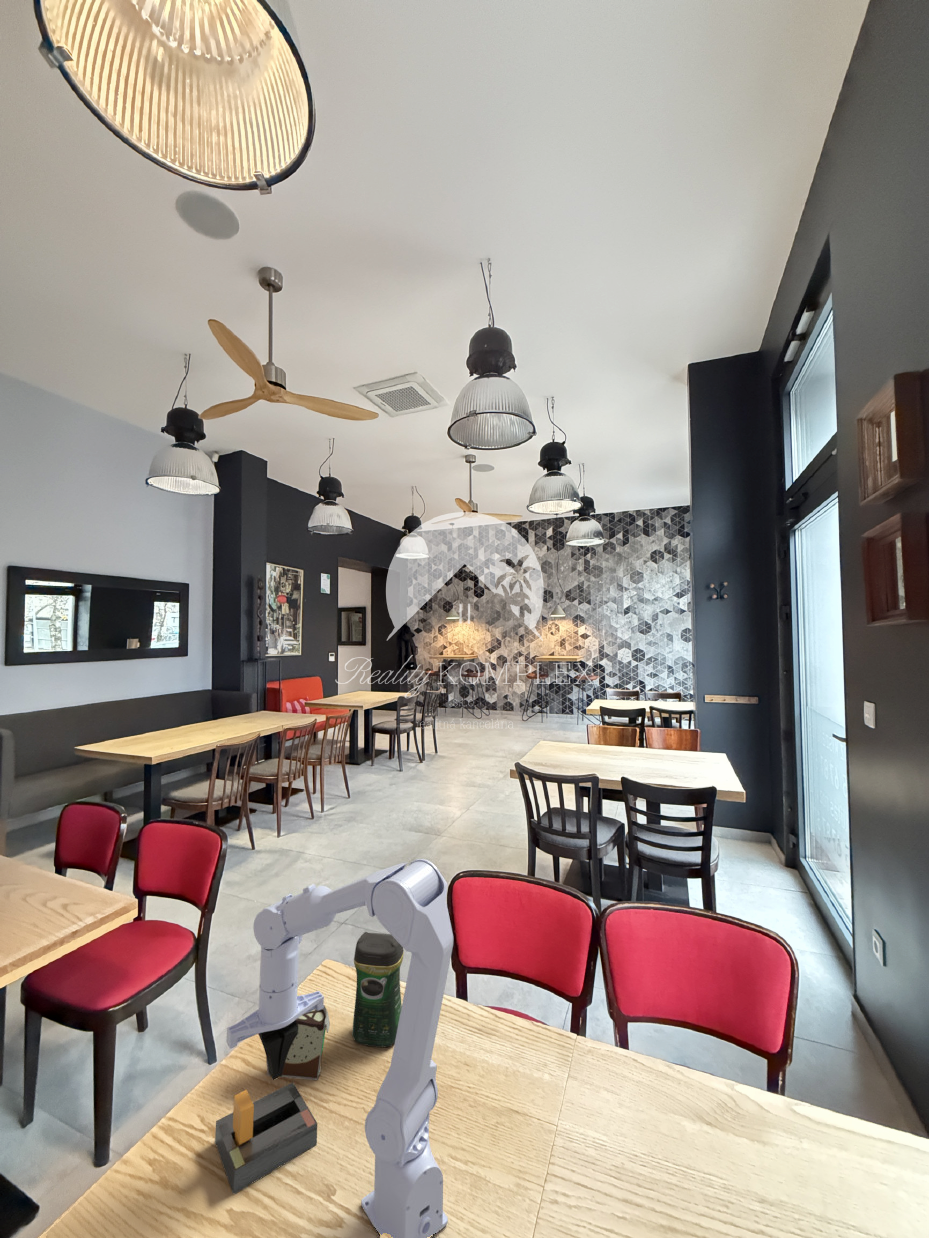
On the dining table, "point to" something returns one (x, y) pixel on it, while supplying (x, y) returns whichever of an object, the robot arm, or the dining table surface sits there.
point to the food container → (307, 1046)
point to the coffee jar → (377, 989)
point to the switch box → (267, 1137)
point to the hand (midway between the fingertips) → (275, 1074)
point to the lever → (243, 1118)
